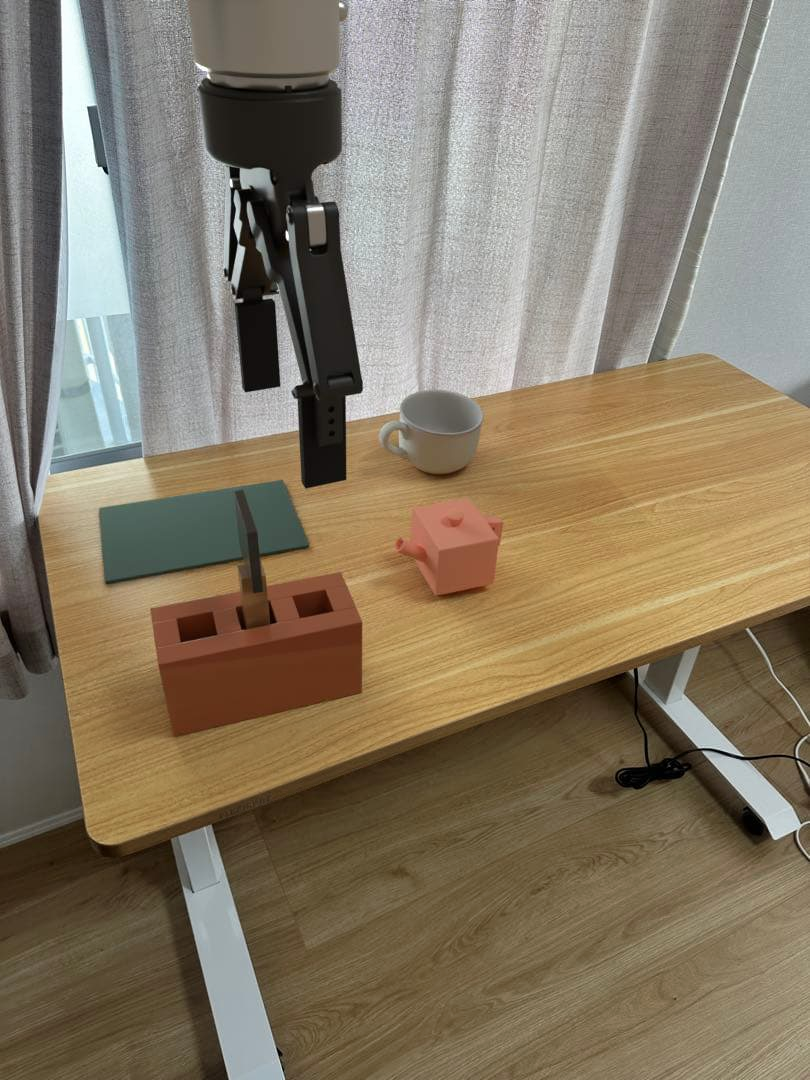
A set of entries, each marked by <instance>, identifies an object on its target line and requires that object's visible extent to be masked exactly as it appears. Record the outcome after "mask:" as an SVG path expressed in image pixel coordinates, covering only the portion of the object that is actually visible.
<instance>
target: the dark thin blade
mask: <svg viewBox="0 0 810 1080" xmlns="http://www.w3.org/2000/svg"><path fill="white" fill-rule="evenodd" d="M234 499H235V508H236V517H237V526H238V535H239V543H240V550H241V554H242V557H243V560H242V561H243V563H240V564H237V575H238V583H239V591H240V593H241V602H242V610H243V619H244V627H245V630H246V629H251V628H256V627H261V626H266V625H270V617H269V606H268V595H267V586H268V584H267V575H266V571H265V568H264V565H263V563H262V560H261V556H260V553H259V542H258V532H257V529H256V526H255V523H254V520H253V517H252V514H251V511H250V508H249V505H248V502H247V499H246V496H245V493H244V490H243V489H241V490H234Z"/></svg>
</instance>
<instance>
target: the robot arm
mask: <svg viewBox="0 0 810 1080" xmlns="http://www.w3.org/2000/svg"><path fill="white" fill-rule="evenodd" d="M186 1H187V10H188V18H189V28H190V37H191V47H192V56H193V62H194V64H195V65H196V66H197V67H198V68H199V69H200V70H202V71H204V72H206V76H207V77H204V78H203V79H202V80H201V82H200V85H198V86H197V95H198V102H199V104H198V105H199V112H200V113H199V114H200V122H201V124H200V125H201V133H202V141H203V148H204V150H205V153H206V154H207V155H208V157H209V158H211V159H212V160H214V161H215V162H217V163H219V164H222V165H223V166H224V178H225V181H224V182H225V198H224V199H225V201H224V228H223V229H224V231H223V234H224V235H223V262H222V264H223V265H222V266H223V268H222V276H223V277H224V279H225V282H227V283H229V282H230V285H229V286H230V287H229V290H230V294H231V295H232V297H233V299H234V300H238V302H234V313H235V314H234V315H235V324H236V334H237V335H236V336H237V346H238V347H237V348H238V357H239V366H240V367H239V368H240V377H241V387H242V390H243V391H244V393H251V392H257V391H258V392H259V391H262V390H264V391H265V390H270V389H274V388H281V372H280V370H281V369H280V357H279V356H280V355H279V341H278V326H277V309H276V308H277V307H276V302H275V300H274V299H273V297H272V298H264V297H266V296H267V297H268V296H273V295H274V296H275V295H280V297H281V303H282V306H283V310H284V314H285V319H286V322H287V326H288V330H289V334H290V339H291V342H292V347H293V350H294V354H295V358H296V362H297V366H298V370H299V375H300V379H301V383H302V384H297V385H295V386H294V387H293V388H292V390H291V395H292V397H293V399H294V400H297V420H298V438H299V441H298V442H299V454H300V455H299V458H300V461H299V462H300V479H301V484H302V486H303V487H304V488H305V490H306V489H311V488H315V487H320V486H325V485H329V484H334V483H338V482H343V481H347V480H348V479H347V411H346V410H347V397H348V396H354V395H361V394H362V393H363V391H364V381H363V377H362V371H361V365H360V360H359V359H360V358H359V353H358V347H357V341H356V335H355V334H356V333H355V329H354V323H353V316H352V311H351V304H350V298H349V292H348V291H349V290H348V285H347V279H346V273H345V267H344V261H343V256H342V248H341V246H342V245H341V228H340V227H341V226H340V210H339V207H338V204H337V203H336V201H322V202H320V199H319V197H318V196H317V195H315V187H314V181H313V179H312V177H313V174H314V171H315V170H316V169H317V168H318V167H320V166H321V165H323V166H324V165H328V164H331V163H332V162H334V161H335V160H336V159H338V157H339V156H340V155H341V153H342V148H343V116H342V115H343V114H342V113H343V112H342V110H343V108H342V107H343V106H342V101H343V99H342V97H343V96H342V89H341V87H339V86H338V83H337V82H336V81H335V80H333V79H331V78H329V77H330V76H329V75H331V74H332V73H335V72H336V71H337V70H338V69H339V67H340V66H341V29H340V27H341V26H340V23H342V22H345V21H346V19H347V17H348V13H349V12H348V9H349V7H348V4H347V3H346V2H345V1H344V0H186Z"/></svg>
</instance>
